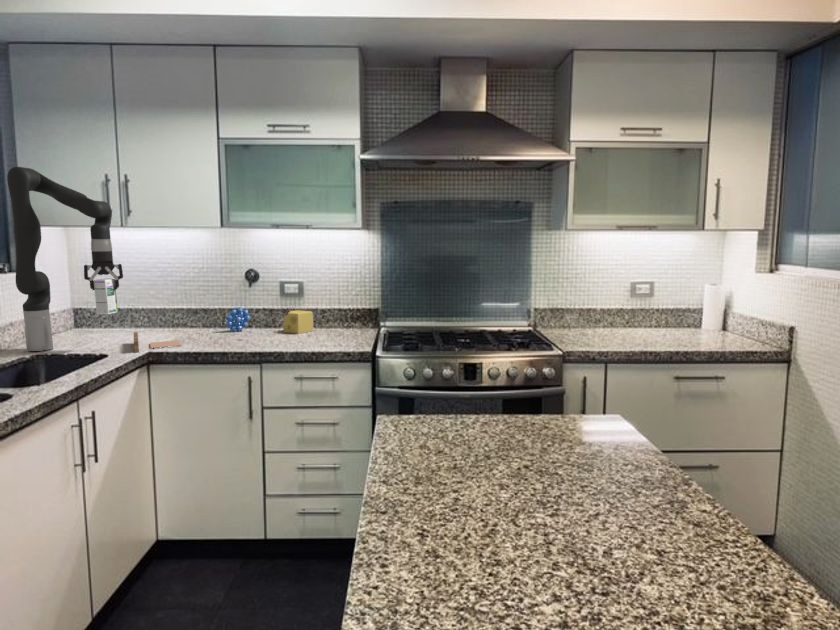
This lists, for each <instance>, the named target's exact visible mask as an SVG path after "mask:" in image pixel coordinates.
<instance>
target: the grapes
mask: <svg viewBox="0 0 840 630" xmlns="http://www.w3.org/2000/svg"><path fill="white" fill-rule="evenodd" d="M225 319H226V321H227V322H226V323H225V326H226V328H229V330H230V332H235V331H237V332H241V331H242V330H243V328H244V329H245V328H247V327H248V326H249V323H248V322H249V321H250V320H251V316H250V315H249V310H248V309H244V308H243V307H237V309H233V308H232V310H231V311H230V314H228V315H227V316H226V318H225Z"/></svg>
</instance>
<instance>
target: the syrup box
mask: <svg viewBox="0 0 840 630" xmlns="http://www.w3.org/2000/svg"><path fill="white" fill-rule="evenodd" d="M93 281H94V290H93V291H94V298H95V309H96V315H111V314H117V313H119V309H118V298H117V289H115V278H102V279H93Z"/></svg>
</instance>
